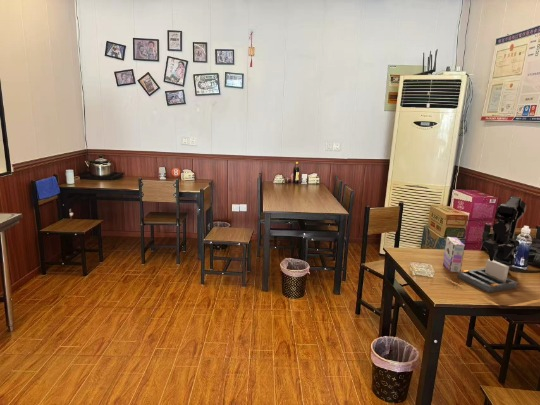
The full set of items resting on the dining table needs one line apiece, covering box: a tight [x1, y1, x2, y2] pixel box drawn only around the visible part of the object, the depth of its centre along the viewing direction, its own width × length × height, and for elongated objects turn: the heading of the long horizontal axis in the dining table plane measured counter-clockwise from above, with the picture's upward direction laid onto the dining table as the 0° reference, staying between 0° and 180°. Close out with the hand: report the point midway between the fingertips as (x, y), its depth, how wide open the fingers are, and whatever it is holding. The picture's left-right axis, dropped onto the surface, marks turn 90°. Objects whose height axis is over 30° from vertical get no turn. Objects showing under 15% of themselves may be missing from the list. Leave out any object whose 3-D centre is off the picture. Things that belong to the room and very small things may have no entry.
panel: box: [485, 258, 510, 282], centre depth 183 cm, size 2×10×10 cm, turn 20°
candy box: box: [442, 236, 466, 273], centre depth 199 cm, size 14×6×16 cm, turn 168°
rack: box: [457, 267, 519, 294], centre depth 182 cm, size 19×18×5 cm
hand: (497, 259), depth 181 cm, fingers open, 9 cm apart
